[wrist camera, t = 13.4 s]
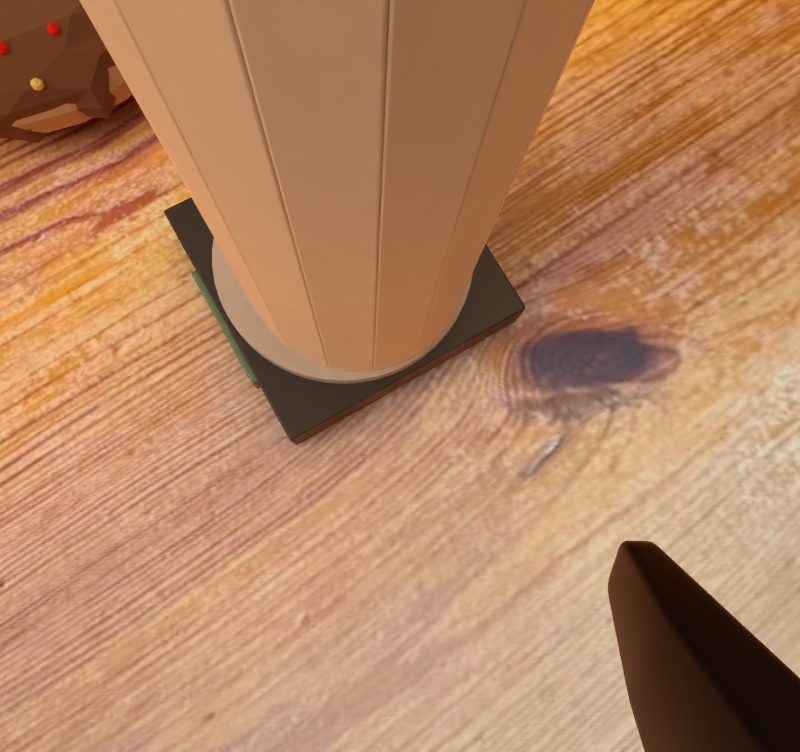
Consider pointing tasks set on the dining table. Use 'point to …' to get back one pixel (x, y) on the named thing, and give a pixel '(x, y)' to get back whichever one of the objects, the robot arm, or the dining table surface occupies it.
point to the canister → (345, 147)
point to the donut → (53, 69)
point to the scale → (311, 383)
